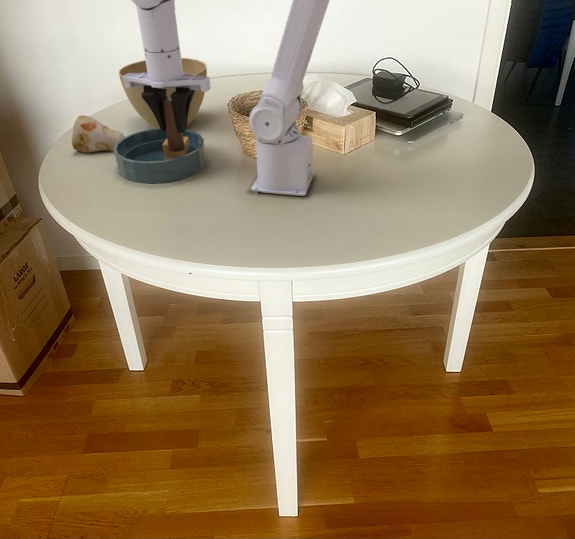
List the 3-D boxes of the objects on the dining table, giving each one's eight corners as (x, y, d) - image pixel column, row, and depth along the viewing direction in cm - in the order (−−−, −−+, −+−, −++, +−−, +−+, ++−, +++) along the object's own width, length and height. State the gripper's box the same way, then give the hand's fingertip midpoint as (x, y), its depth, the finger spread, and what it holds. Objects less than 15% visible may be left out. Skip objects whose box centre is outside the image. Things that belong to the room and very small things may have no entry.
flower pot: (223, 113, 122) (218, 58, 115) (193, 143, 108) (185, 83, 101) (152, 108, 126) (143, 54, 119) (114, 136, 112) (101, 77, 105)
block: (191, 156, 101) (188, 136, 99) (186, 165, 98) (183, 145, 96) (170, 156, 102) (167, 136, 99) (165, 165, 98) (162, 144, 96)
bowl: (217, 152, 104) (215, 130, 102) (188, 190, 91) (184, 166, 89) (141, 146, 107) (137, 125, 105) (102, 182, 94) (96, 158, 92)
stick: (187, 146, 95) (180, 96, 90) (181, 152, 93) (173, 101, 88) (172, 145, 96) (164, 95, 91) (166, 151, 94) (158, 100, 89)
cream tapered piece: (127, 158, 103) (90, 119, 96) (91, 175, 107) (53, 138, 101) (137, 135, 108) (102, 96, 101) (102, 152, 112) (66, 115, 105)
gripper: (108, 53, 83) (125, 136, 91) (195, 56, 80) (205, 141, 88) (128, 42, 88) (143, 121, 96) (211, 45, 86) (218, 126, 94)
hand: (174, 130), depth 93 cm, fingers closed on stick, 3 cm apart
